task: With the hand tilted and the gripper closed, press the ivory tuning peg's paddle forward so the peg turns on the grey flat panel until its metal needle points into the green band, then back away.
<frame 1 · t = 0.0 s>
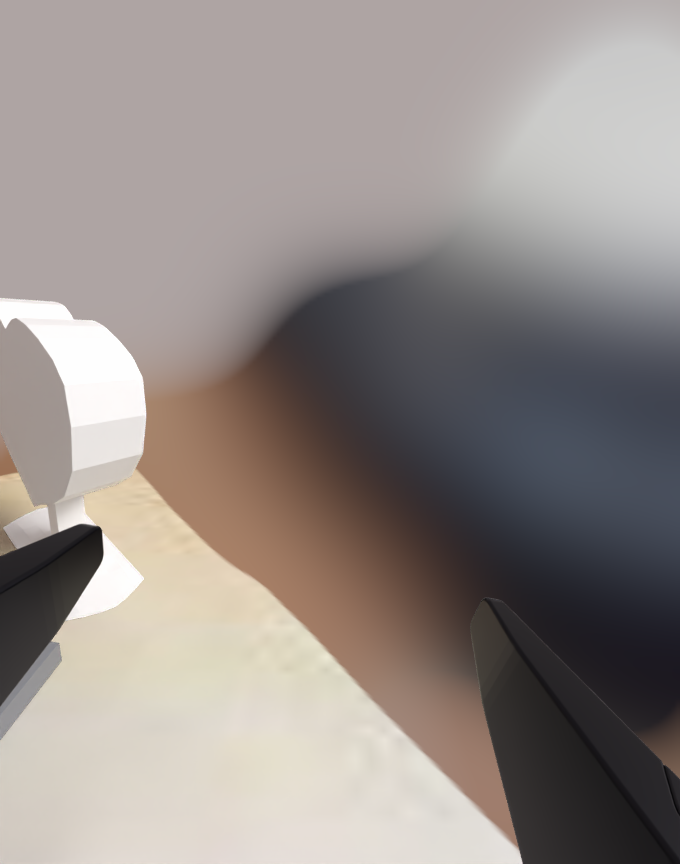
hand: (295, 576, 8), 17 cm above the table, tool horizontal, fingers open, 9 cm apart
heart sculpture: (71, 554, 27), on the table
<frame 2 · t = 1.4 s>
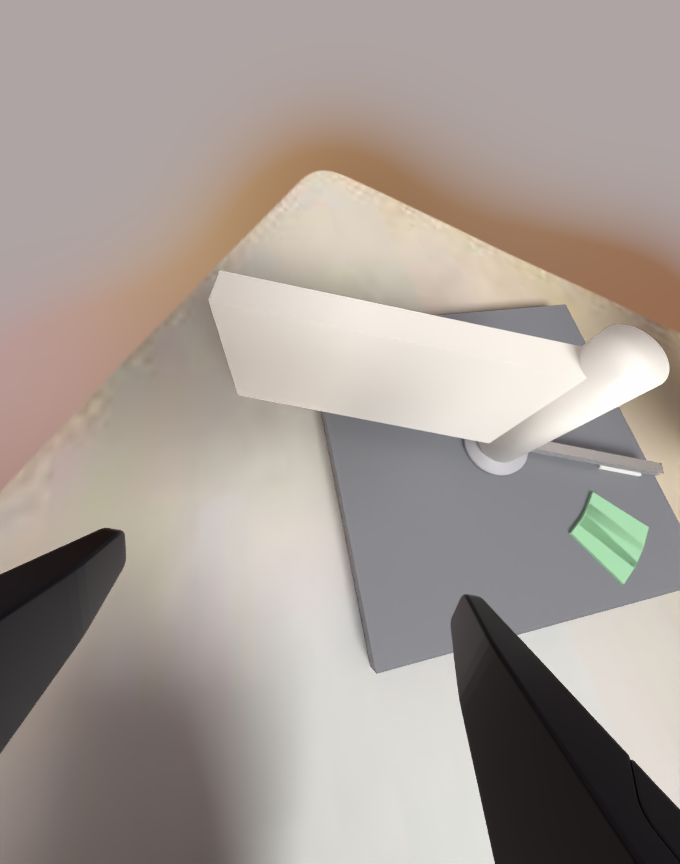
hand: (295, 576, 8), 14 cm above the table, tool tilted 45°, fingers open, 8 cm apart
grey flat panel: (482, 451, 25), on the table
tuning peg: (495, 397, 19), point 7 cm above the table, hinge at 0.0°
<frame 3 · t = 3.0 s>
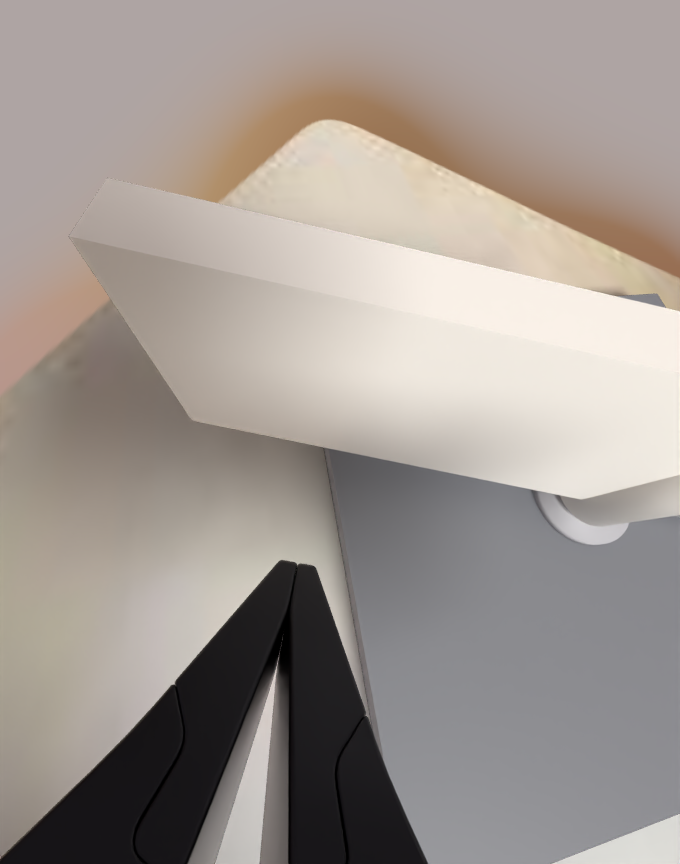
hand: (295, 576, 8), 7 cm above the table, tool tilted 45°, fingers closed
grey flat panel: (555, 500, 18), on the table
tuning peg: (624, 438, 11), point 7 cm above the table, hinge at 0.0°
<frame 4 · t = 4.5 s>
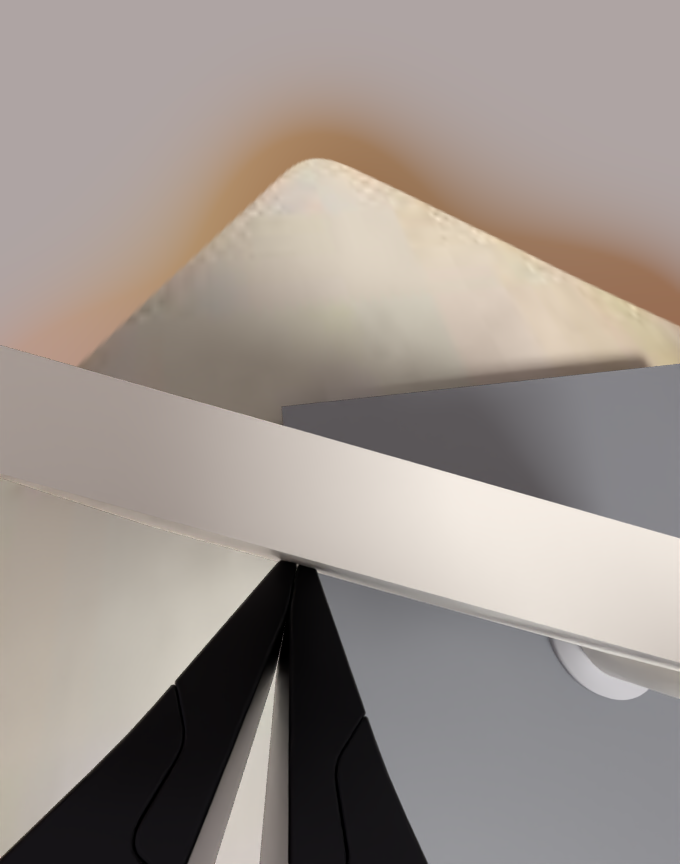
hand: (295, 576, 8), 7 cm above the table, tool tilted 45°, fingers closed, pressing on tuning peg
grey flat panel: (570, 623, 15), on the table
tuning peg: (668, 630, 8), point 7 cm above the table, hinge at 4.7°, touching gripper
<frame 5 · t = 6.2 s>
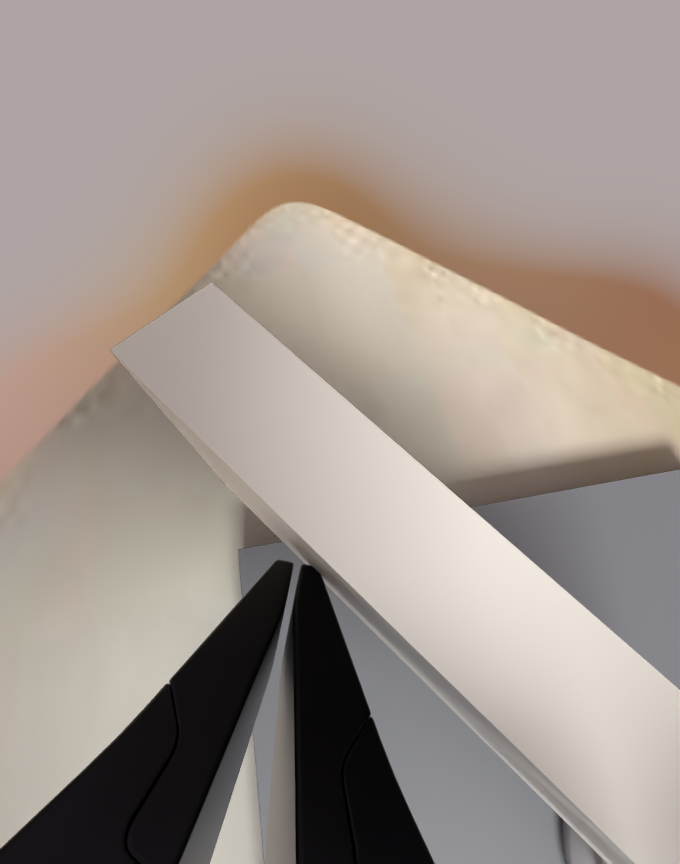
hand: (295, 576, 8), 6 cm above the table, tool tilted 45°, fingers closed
grey flat panel: (591, 816, 12), on the table
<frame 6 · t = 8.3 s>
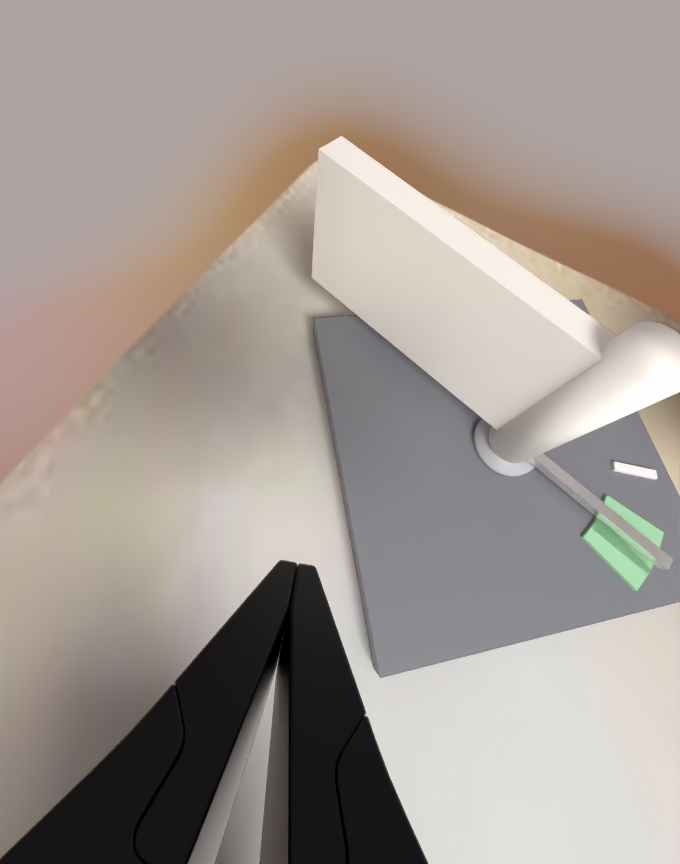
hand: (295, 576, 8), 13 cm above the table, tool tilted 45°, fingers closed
grey flat panel: (493, 450, 25), on the table
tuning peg: (519, 371, 18), point 7 cm above the table, hinge at 32.5°
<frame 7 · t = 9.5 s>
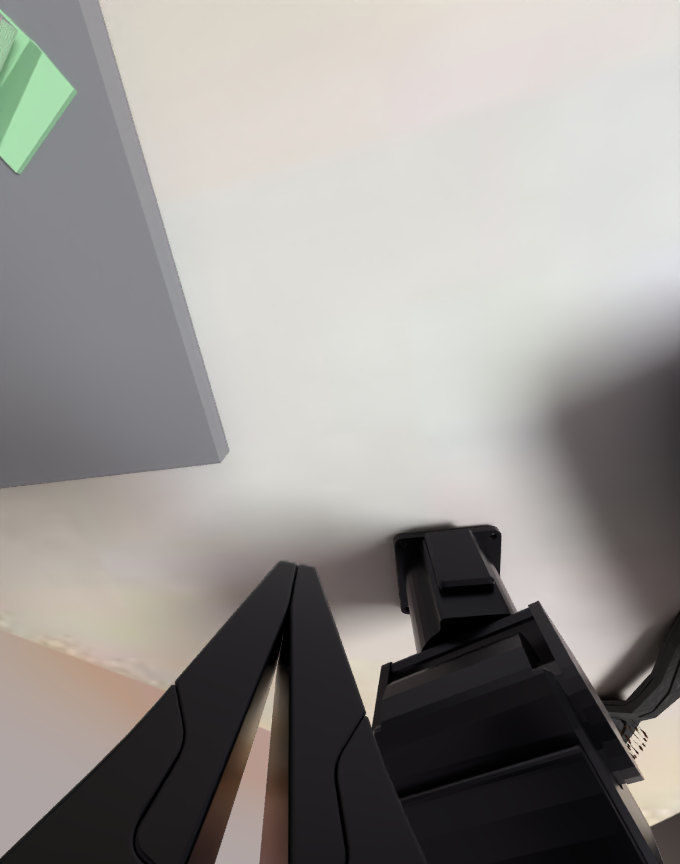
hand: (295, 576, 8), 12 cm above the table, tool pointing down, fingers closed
hairbrush: (601, 697, 29), on the table
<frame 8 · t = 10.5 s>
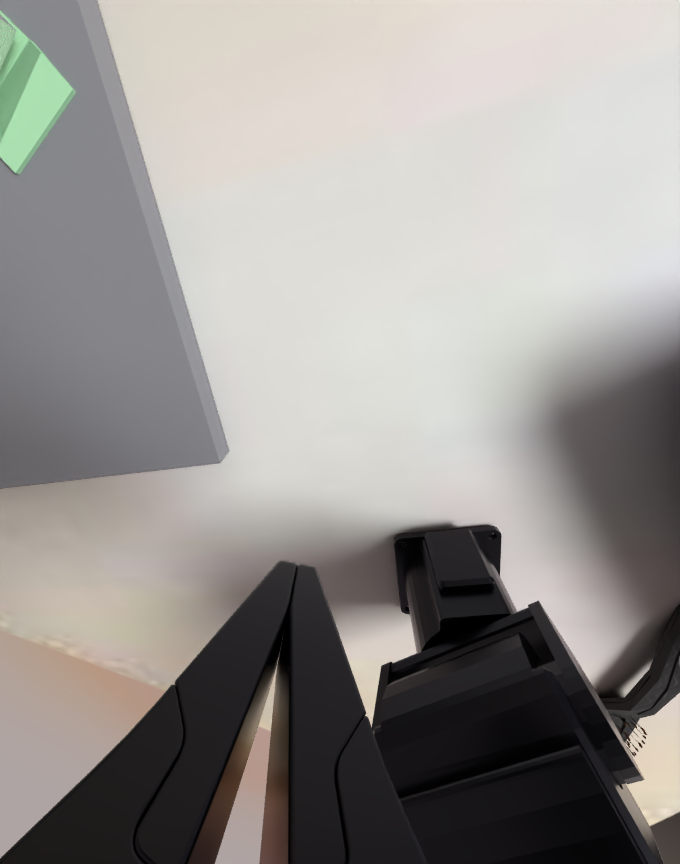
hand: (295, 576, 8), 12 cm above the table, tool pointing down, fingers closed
hairbrush: (600, 694, 29), on the table
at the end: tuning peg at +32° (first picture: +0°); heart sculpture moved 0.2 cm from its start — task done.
